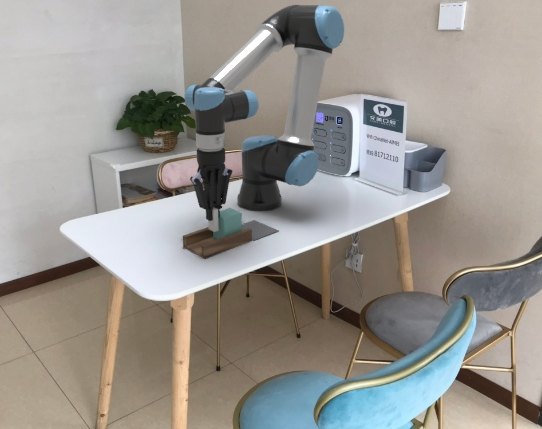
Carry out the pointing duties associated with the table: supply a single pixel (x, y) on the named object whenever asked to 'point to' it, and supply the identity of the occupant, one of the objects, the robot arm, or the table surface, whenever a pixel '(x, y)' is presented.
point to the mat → (258, 229)
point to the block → (228, 223)
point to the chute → (214, 242)
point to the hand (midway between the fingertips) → (213, 229)
